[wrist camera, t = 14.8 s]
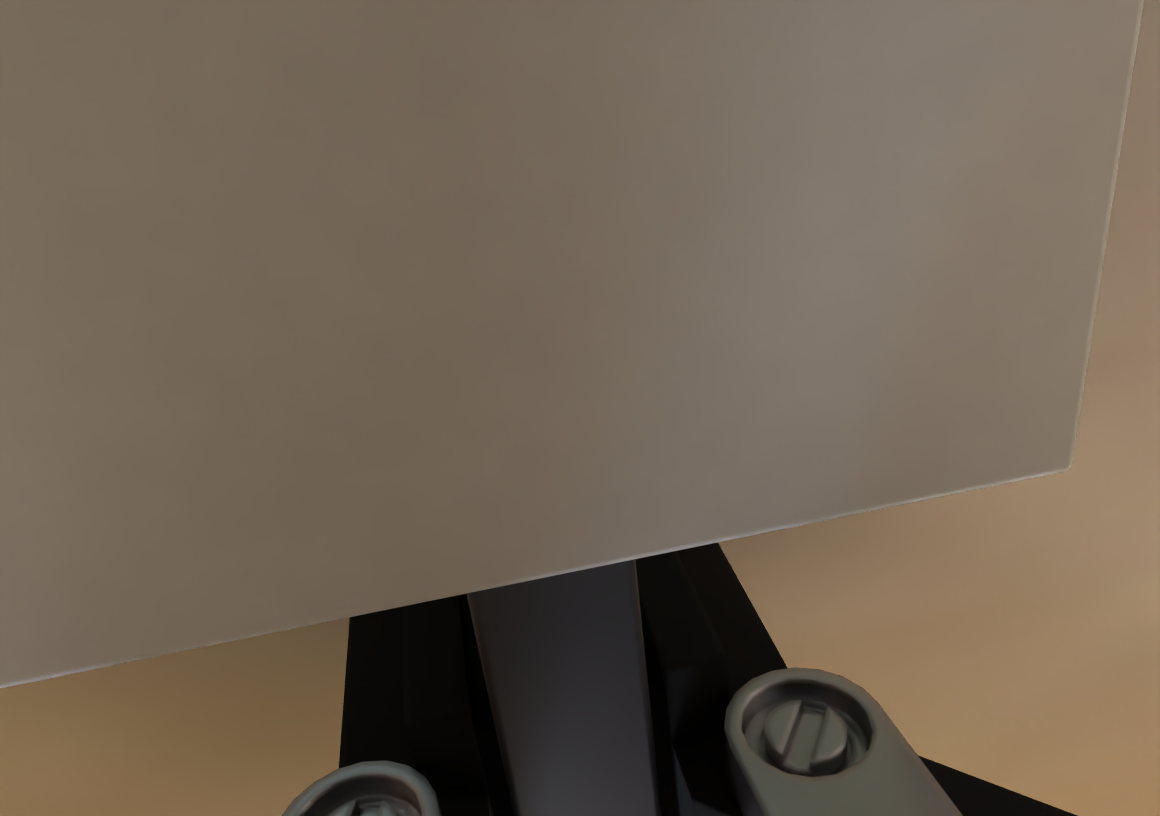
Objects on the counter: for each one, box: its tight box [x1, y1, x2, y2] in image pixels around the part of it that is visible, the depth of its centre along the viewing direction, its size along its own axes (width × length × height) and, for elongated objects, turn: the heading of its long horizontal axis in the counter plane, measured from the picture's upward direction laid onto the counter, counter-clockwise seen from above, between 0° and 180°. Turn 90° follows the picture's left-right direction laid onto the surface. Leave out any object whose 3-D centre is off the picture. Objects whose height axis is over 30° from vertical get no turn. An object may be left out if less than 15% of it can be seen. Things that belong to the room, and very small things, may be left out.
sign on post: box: [0, 0, 1144, 816], centre depth 7 cm, size 13×7×5 cm, turn 6°
